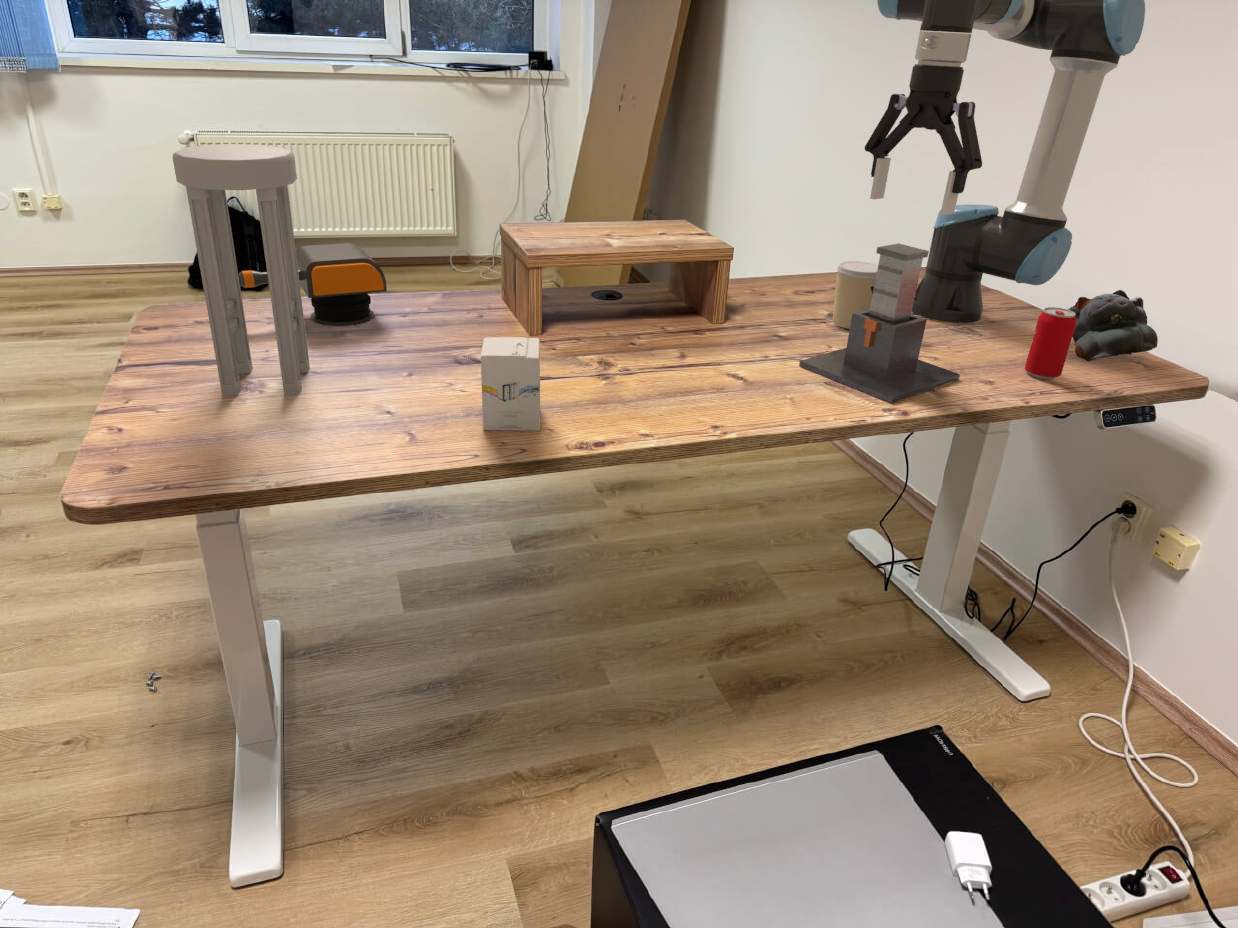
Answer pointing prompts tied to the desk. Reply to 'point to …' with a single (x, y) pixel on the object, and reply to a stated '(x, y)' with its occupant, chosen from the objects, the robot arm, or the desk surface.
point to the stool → (206, 185)
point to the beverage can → (1050, 343)
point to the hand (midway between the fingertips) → (910, 206)
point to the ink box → (510, 383)
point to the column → (896, 283)
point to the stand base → (882, 360)
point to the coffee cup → (853, 290)
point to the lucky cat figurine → (1111, 326)
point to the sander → (333, 282)
